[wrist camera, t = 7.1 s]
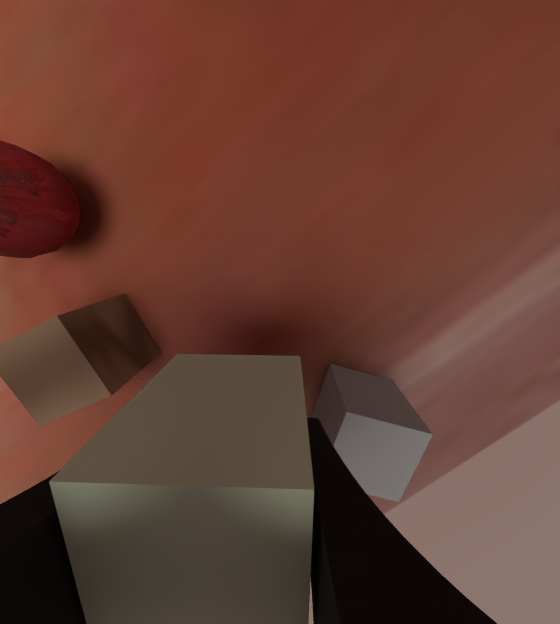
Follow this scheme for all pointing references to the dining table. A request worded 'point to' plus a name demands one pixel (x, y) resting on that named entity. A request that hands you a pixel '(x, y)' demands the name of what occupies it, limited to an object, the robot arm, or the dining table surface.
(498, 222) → the dining table surface
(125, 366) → the walnut block
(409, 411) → the slate block
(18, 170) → the onion
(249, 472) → the sage block
